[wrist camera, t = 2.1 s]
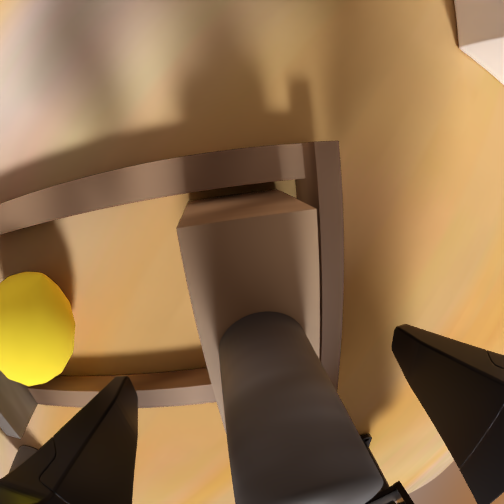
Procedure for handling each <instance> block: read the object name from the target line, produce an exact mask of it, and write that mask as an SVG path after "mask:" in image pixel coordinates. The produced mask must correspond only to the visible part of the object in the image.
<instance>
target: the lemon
mask: <svg viewBox="0 0 504 504" xmlns="http://www.w3.org/2000/svg"><path fill="white" fill-rule="evenodd" d="M74 334H75V321H74V317H73V314H72V309H71V305H70V302H69V300H68V299H67V298H66V296H65V295H64V293H63V292H62V291H61V289H60V288H59V286H58V285H57V284H56V283H54V282H53V281H52V280H51V279H50V278H49V277H48V276H46V275H44V274H43V273H39V272H23V273H19V274H15V275H11V276H8V277H7V278H6V279H5V280H4V281H2V282H1V283H0V370H1V372H2V373H3V374H4V375H5V376H6V377H7V378H8V379H10V380H13V381H16V382H19V383H21V384H24V385H26V386H33V385H38V384H43V383H47V382H48V381H50V380H51V379H53V378H54V377H56V376H57V375H59V374H60V373H62V371H63V369H64V367H65V366H66V364H67V362H68V360H69V359H70V357H71V355H72V353H73V349H74Z"/></svg>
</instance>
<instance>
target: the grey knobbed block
mask: <svg viewBox="0 0 504 504" xmlns="http://www.w3.org/2000/svg"><path fill="white" fill-rule="evenodd" d="M176 229H177V234H178V240H179V245H180V251H181V256H182V261H183V266H184V271H185V276H186V281H187V285H188V290H189V295H190V299H191V304H192V308H193V313H194V317H195V321H196V325H197V330H198V334H199V338H200V342H201V346H202V350H203V354H204V358H205V362H206V365H207V369H208V373H209V377H210V380H211V384H212V387H213V391H214V394H215V398H216V401H217V405H218V408H219V412H220V415H221V418H222V422H223V425H224V428H225V431H226V434H227V442H228V451H229V459H230V467H231V475H232V482H233V490H234V497H235V504H365V503H366V502H368V501H369V500H370V499H371V498H373V497H374V496H375V495H376V494H377V493H378V492H379V491H380V489H381V488H382V486H383V479H382V477H381V475H380V473H379V471H378V469H377V467H376V465H375V464H374V462H373V460H372V458H371V456H370V454H369V452H368V450H367V448H366V446H365V444H364V443H363V441H362V439H361V437H360V435H359V433H358V431H357V429H356V427H355V426H354V424H353V422H352V420H351V418H350V416H349V414H348V412H347V410H346V409H345V407H344V405H343V403H342V401H341V399H340V397H339V395H338V393H337V392H336V390H335V388H334V386H333V384H332V382H331V380H330V378H329V377H328V375H327V373H326V371H325V369H324V367H323V365H322V364H321V362H320V360H319V347H320V282H319V247H318V225H317V209H316V208H314V207H312V206H310V205H308V204H306V203H304V202H302V201H300V200H298V199H296V198H294V197H292V196H290V195H288V194H286V193H284V192H282V191H279V190H277V189H275V190H267V191H258V192H250V193H242V194H235V195H228V196H220V197H213V198H207V199H200V200H194V201H189V202H188V204H187V206H186V208H185V211H184V213H183V215H182V217H181V219H180V221H179V224H178V226H177V228H176Z"/></svg>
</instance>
